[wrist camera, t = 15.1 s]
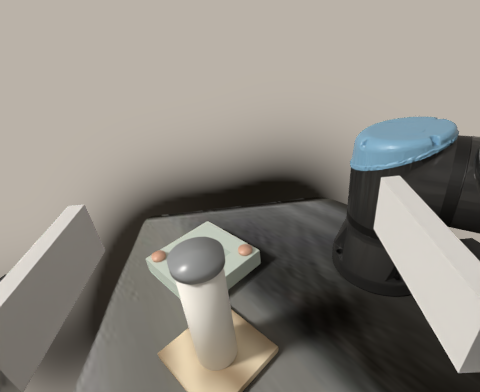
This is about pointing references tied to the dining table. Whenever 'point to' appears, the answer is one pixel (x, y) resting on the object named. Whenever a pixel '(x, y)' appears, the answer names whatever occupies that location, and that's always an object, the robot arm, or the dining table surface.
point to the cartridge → (205, 299)
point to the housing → (236, 253)
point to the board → (230, 378)
